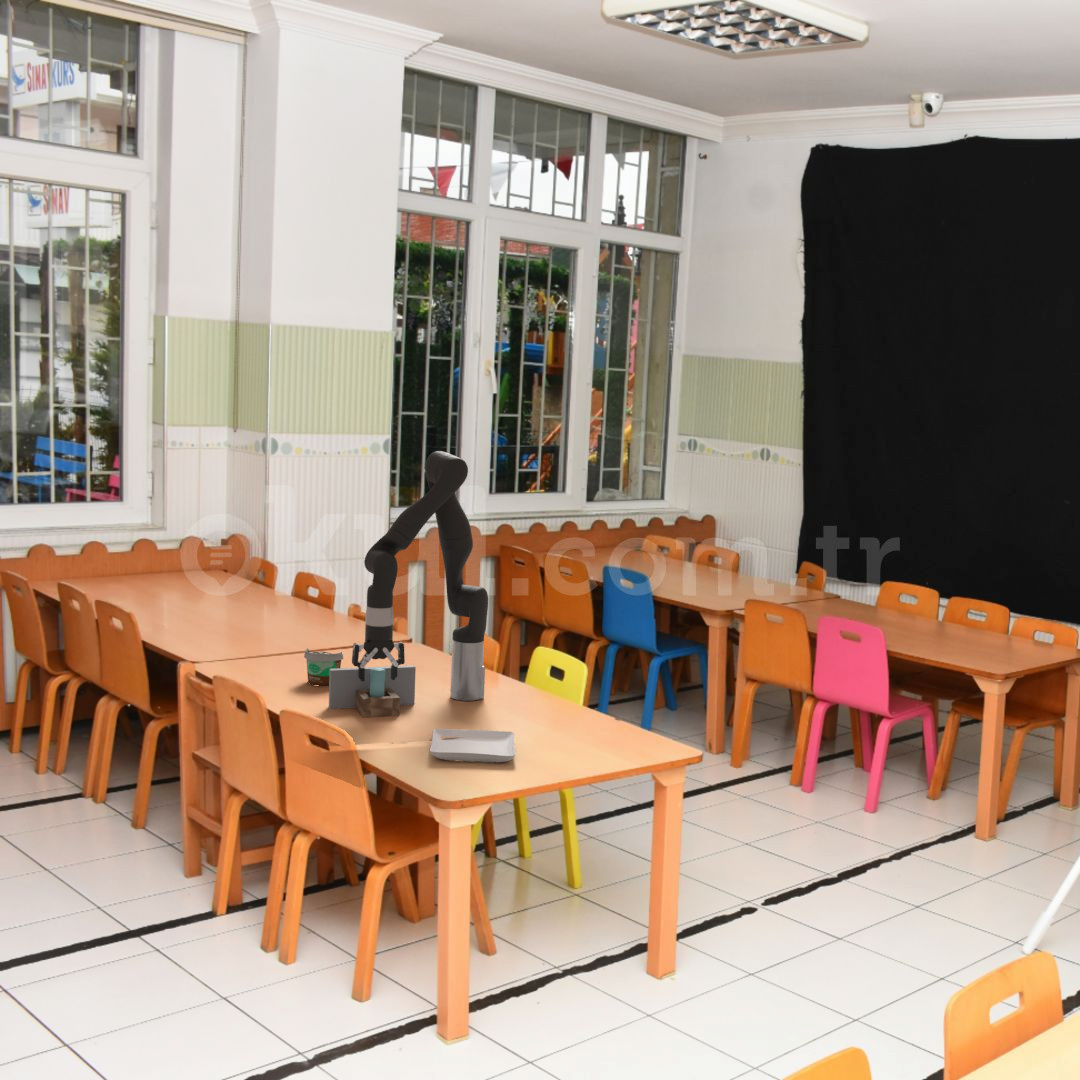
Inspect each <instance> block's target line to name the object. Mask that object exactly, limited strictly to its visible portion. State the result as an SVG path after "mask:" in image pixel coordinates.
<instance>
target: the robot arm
mask: <svg viewBox="0 0 1080 1080" xmlns="http://www.w3.org/2000/svg"><path fill="white" fill-rule="evenodd" d="M424 473H425V477H426V481H427V484H428V488H429V491H427V493H426V494H424V495H423V496H422V497H421V498H420V499H418V500H416V502H414V503H412V504H410V505H409V506H407V507H406V508H405V509H404V510H402V512H401V513H400V514H399V516H397V518H396V519H395V520H394V522H393V524H392V525H391V526H390V527H389V529H388V530H387V532H386V533H385V534H384V535H383V536H382V537H381V538H380V539H378V540H377V541H376V542H375V543H374V544H373V545H372V546H371V548H369V550H368V551H367V552H366V555H365V557H364V561H363V563H364V567H365V569H366V570H367V571H368V572H369V573H371V574H373V576H372V577H373V578H372V584H370V585H369V586H368V587H367V589H366V590H367V591H366V609H365V618H364V622H365V623H364V624H365V628H364V631H365V632H364V641H363V643H357V642H353V644H352V655H351V656H352V657H351V664H352V665H353V666H354V667H356V668H358V677H359V679H361V681H365V668H364V667H366V665H367V664H368V663H369V662H370V661H371V660H379V659H380V660H385V659H386V658H387V659H388V660H389V662H390V663H391V665H390V666H391V679H392V680H395V678H397V669H398V666H402V665H404V664H405V660H406V659H405V658H406V657H405V644H404V642H402V641H398V642H394V641H393V640H394V639H393V638H394V609H393V607H394V606H393V604H394V603H393V602H394V598H393V597H394V593H393V592H394V588H395V584H396V580H397V577H398V571H399V570H398V568H399V567H398V560H397V558H396V555H398V553H399V552H401V551H404V550H407V549H408V547H409V546H410V545H411V544H412V543H413V541H414V540H415V538H416V537H417V536H418V534H419V533H420V531H421V530H422V528H423V527H424V526H425V524H426V523H428V521H429V520H430V519H431V517H432V516H433V515H435V520H436V523H437V531H438V532H437V533H438V539H439V543H440V548H441V549H440V550H441V554H442V560H443V566H444V573H445V583H446V584H445V586H446V599H447V607H448V608H449V611H450V613H451V614H452V615H454V616H457V617H458V616H459V617H463V618H465V617H466V618H468V623H467V625H465V626H460V627H456V628H455V629H454V630H453V631H452V641H451V642H452V643H451V644H452V645H451V667H450V668H451V671H450V673H451V674H450V689H449V690H450V698H451V699H453V700H456V701H465V702H469V701H470V702H471V701H478V700H482V699H483V700H484V699H485V679H486V666H485V665H484V653H485V652H484V651H485V650H484V649H485V648H484V647H485V645H484V644H485V634H486V630H487V618H488V611H489V610H488V609H489V594H488V592H487V591H488V590H487V589H486V588H484V587H482V586H476V585H471V584H468V585H467V584H465V583H464V579H463V569H464V567H465V564H466V563H467V561H468V559H469V558H470V556H471V554H472V551H473V548H474V542H473V541H474V540H473V536H472V535H473V534H472V528H471V524H470V521H469V519H468V516H467V515H466V512H465V511H464V509H463V507H462V506H461V504H460V501H459V500H458V497H457V496H456V495H457V494H456V492H457V491H458V490H459V489H460V488H461V487H462V485H463V484H464V483H465V482H466V480H467V477H468V474H469V468H468V464H467V462H466V461H465V460H464V459H463V458H460V457H459V456H456V455H453V454H451V453H448V452H445V451H441V450H437V451H436V450H435V451H433V452H431V454H429V456H428V457H427V459H426V461H425V467H424ZM394 648H395V649H396V650H397V657H398V658H397V659H395V658H394V656H393V655H392V654H391V652H392V651H393V649H394ZM362 650H364V651H365V652H364V654H363V655H362V658H361V659H360V661H359V655H360V653H361V652H362Z"/></svg>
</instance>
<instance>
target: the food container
mask: <svg viewBox="0 0 1080 1080" xmlns="http://www.w3.org/2000/svg"><path fill="white" fill-rule="evenodd" d="M303 657H304V659H306V669H307V670H306V671H307V672H306V674H307V683H308V682H309V683H310V684H313V685H319V686H318V687H320V686H328V687H329V673H330V669H337V668H342V667H341V665H342V660H344V655H343V652H342V651H341V652H337V653H331V652H327V651H311V650H309V648H308V647H307V648H306V649H305V651H304V654H303ZM309 683H308V684H309ZM310 684H309V685H310ZM313 685H312V686H313Z"/></svg>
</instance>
